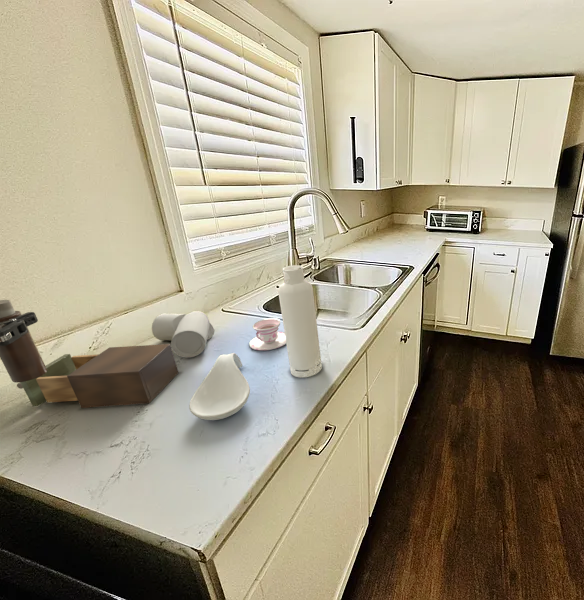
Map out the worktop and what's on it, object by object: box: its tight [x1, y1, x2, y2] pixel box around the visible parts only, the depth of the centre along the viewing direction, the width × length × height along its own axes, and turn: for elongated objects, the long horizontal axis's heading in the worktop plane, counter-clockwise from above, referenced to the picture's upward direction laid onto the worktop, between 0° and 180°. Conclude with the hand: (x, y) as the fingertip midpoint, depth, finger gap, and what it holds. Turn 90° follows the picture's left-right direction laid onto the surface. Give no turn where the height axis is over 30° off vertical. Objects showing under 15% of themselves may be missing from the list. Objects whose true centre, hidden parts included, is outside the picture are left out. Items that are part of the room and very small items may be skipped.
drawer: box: [16, 353, 100, 407], centre depth 77 cm, size 18×11×7 cm, turn 96°
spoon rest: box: [188, 352, 251, 421], centre depth 76 cm, size 24×12×7 cm, turn 21°
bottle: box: [277, 264, 323, 378], centre depth 82 cm, size 8×8×28 cm
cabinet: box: [67, 343, 180, 409], centre depth 78 cm, size 15×13×9 cm
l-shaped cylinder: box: [151, 310, 215, 358], centre depth 99 cm, size 18×10×20 cm
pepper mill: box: [0, 299, 47, 384], centre depth 62 cm, size 5×5×16 cm
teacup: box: [248, 317, 286, 352], centre depth 101 cm, size 12×12×6 cm
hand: (18, 317), depth 63 cm, fingers closed on pepper mill, 5 cm apart
